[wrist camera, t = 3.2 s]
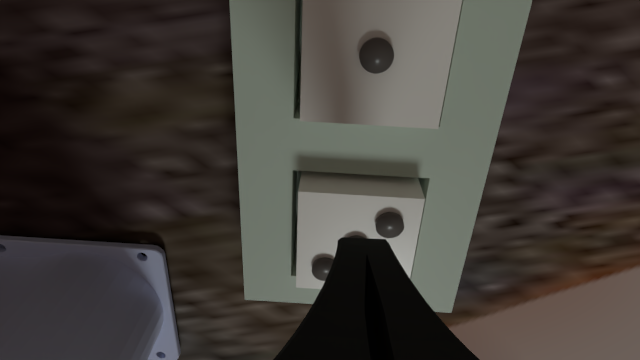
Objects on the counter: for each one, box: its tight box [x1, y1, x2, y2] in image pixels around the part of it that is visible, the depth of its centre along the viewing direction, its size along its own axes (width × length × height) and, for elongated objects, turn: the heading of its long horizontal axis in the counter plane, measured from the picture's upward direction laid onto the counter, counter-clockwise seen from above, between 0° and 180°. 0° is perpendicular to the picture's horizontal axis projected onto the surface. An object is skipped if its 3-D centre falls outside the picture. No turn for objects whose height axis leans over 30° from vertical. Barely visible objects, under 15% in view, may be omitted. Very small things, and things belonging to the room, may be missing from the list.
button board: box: [229, 0, 532, 313], centre depth 15 cm, size 9×22×3 cm, turn 177°
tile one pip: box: [300, 0, 462, 129], centre depth 14 cm, size 4×4×2 cm
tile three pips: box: [296, 171, 425, 289], centre depth 17 cm, size 4×4×2 cm
